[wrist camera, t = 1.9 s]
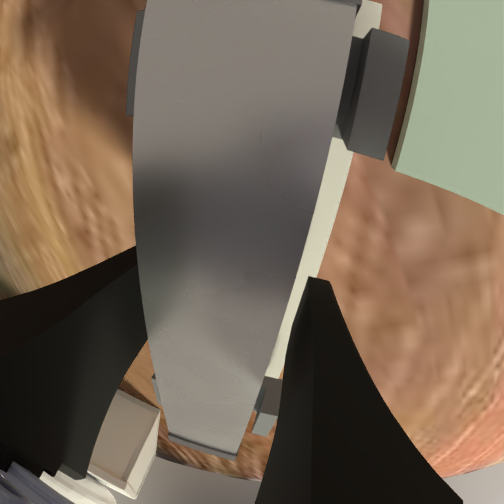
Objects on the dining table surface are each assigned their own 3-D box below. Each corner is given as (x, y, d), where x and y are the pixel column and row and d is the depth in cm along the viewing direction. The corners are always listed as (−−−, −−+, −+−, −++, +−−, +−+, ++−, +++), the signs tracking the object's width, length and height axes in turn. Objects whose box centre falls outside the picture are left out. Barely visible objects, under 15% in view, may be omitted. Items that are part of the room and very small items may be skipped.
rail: (351, 3, 4) (367, -44, 2) (247, 416, 13) (234, 461, 11) (210, -11, 4) (152, -50, 2) (188, 398, 13) (169, 441, 11)
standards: (379, 13, 6) (416, -34, 2) (274, 384, 16) (260, 447, 12) (216, -10, 6) (152, -55, 3) (189, 360, 16) (161, 417, 13)
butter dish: (54, 391, 32) (8, 466, 19) (19, 318, 22) (-62, 422, 9) (157, 450, 32) (118, 538, 19) (163, 406, 22) (94, 554, 9)
